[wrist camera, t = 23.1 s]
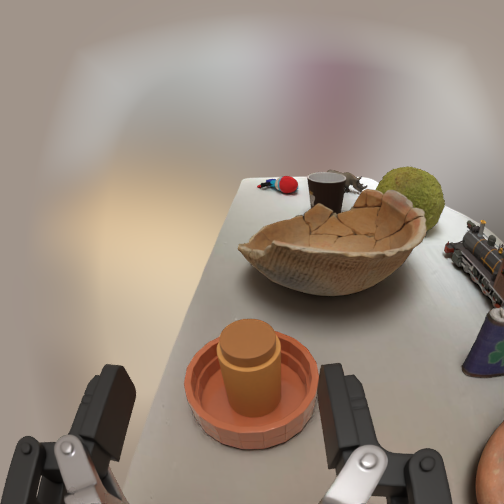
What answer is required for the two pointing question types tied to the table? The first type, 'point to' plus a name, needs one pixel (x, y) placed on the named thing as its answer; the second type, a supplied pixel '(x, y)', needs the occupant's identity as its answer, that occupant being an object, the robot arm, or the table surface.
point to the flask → (487, 348)
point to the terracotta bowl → (253, 428)
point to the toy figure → (282, 184)
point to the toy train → (481, 261)
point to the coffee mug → (327, 190)
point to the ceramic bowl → (339, 245)
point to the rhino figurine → (350, 181)
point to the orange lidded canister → (251, 367)
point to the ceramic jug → (491, 470)
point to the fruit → (416, 191)
